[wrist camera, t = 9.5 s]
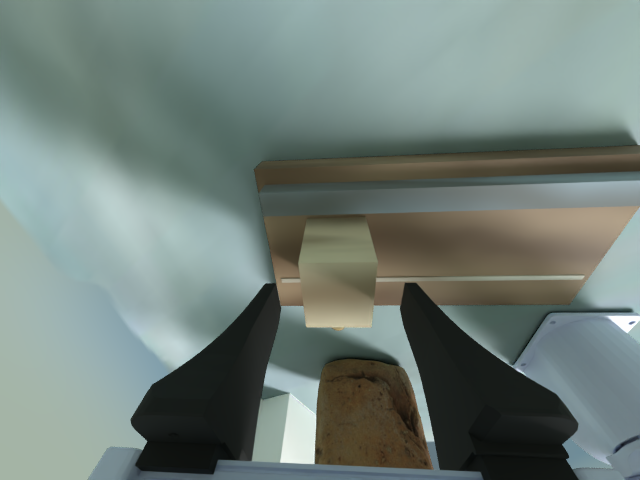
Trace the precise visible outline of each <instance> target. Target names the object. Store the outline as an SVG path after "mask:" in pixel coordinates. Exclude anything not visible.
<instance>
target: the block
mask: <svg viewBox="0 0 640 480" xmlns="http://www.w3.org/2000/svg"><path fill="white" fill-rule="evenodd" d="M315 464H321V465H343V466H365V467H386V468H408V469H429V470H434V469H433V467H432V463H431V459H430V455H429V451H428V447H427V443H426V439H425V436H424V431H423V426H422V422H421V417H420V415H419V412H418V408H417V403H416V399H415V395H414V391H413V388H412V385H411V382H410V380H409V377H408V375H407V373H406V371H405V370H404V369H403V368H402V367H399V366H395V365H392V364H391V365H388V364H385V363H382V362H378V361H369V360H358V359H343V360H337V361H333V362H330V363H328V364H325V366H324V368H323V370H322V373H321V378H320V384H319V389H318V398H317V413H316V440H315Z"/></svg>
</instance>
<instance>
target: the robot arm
mask: <svg viewBox="0 0 640 480" xmlns="http://www.w3.org/2000/svg"><path fill="white" fill-rule="evenodd" d="M400 311H401V316H402V321H403V325H404V329H405V332H406V335H407V337H408V340H409V343H410V346H411V349H412V352H413V355H414V358H415V361H416V364H417V367H418V370H419V373H420V377H421V381H422V385H423V389H424V394H425V398H426V402H427V407H428V411H429V416H430V421H431V426H432V431H433V435H434V440H435V446H436V451H437V457H438V461H439V468H440V470H429V469H408V468H386V467H365V466H343V465H321V464H300V463H278V462H257V461H252V456H253V449H254V441H255V434H256V427H257V420H258V414H259V407H260V401H261V395H262V389H263V384H264V378H265V373H266V369H267V364H268V361H269V357H270V354H271V350H272V347H273V343H274V340H275V336H276V332H277V329H278V325H279V319H280V312H281V306H280V301H279V296H278V291H277V285H276V283H266V284H265V285H264V286H263V287H262V288H261V290H260V291H259V292H258V294H257V295H256V296H255V297H254V299H253V300H252V301H251V302H250V304H249V305H248V306H247V307H246V308H245V310H244V311H243V312H242V313H241V314H240V315H239V316H238V317H237V319H236V320H235V321H234V322H233V323H232V324H231V325H230V326H229V327H228V328H227V329H226V330H225V331H224V332H223V333H222V334H221V335H220V336H219V337H217V338H216V339H215V340H214V341H213V342H212V343H211V344H209V345H208V346H207V347H206V348H205V349H203V350H202V351H201V352H200V353H198V354H197V355H196V356H194V357H193V358H192V359H190V360H189V361H188V362H186V363H185V364H183V365H182V366H181V367H179V368H178V369H176V370H175V371H173V372H172V373H170V374H168V375H167V376H165V377H164V378H162V379H161V380H159V381H157V382H156V383H154V384H153V385H152V386H151V387H150V389H149V390H148V392H147V393H146V395H145V396H144V398H143V400H142V402H141V403H140V405H139V406H138V408H137V410H136V411H135V413H134V415H133V416H132V418H131V424H132V426H133V427H134V429H135V430H136V431H137V432H138V433H139V434H141V436H143V437H144V438H145V439H146V440H147V444H146V445H145V447H144V449H143V450H141V449H137V448H127V447H109V448H107V450H106V451H105V453H104V455H103V456H102V458H101V459H100V461H99V462H98V464H97V466H96V467H95V469H94V470H93V472H92V473H91V475H90V476H89V478H88V480H640V343H638V342H637V341H636V340H635V339H634V338H632V337H631V336H630V335H629V334H627V333H628V332H629V331H630V330H631V329H632V328H633V327H634V326H635V325H636V324H637V323H638V321H639V320H640V315H639V314H638V313H550V314H549V315H547V317H546V318H545V320H544V321H543V323H542V324H541V326H540V327H539V329H538V330H537V332H536V333H535V335H534V336H533V338H532V339H531V341H530V342H529V344H528V345H527V347H526V348H525V350H524V351H523V353H522V354H521V356H520V357H519V359H518V360H517V362H516V363H515V365H514V366H513V368H512V367H511V366H509V365H508V364H506V363H505V362H503V361H502V360H500V359H499V358H497V357H496V356H495V355H493V354H492V353H490V352H489V351H488V350H486V349H485V348H484V347H482V346H481V345H480V344H478V343H477V342H476V341H475V340H473V339H472V338H471V337H470V336H469V335H467V334H466V333H465V332H464V331H463V330H462V329H460V328H459V327H458V326H457V325H456V324H455V323H454V322H453V321H452V320H451V319H450V318H449V317H448V316H447V315H446V314H445V313H444V312H443V311H442V310H441V309H440V308H439V307H438V306H437V305H436V304H435V303H434V302H433V301H432V300H431V299H430V297H429V296H428V295H427V294H426V293H425V292H424V291H423V290H422V288H421V287H420V286H419V285H418V284H417V283H405V284H404V289H403V295H402V301H401V306H400ZM520 372H524V373H525V375H526V376H527V377H526V376H525V375H523V374H522V373H520ZM569 438H571V439H572V440H573V441H574V442H575V443H576V444H577V445H578V446H579V447H581V448H582V449H583V450H584V451H586V452H587V453H588V454H590V455H591V456H593V457H594V458H596V459H598V460H600V461H602V462H604V463H606V464H609V465H611V466H612V467H613V468H614V469H603V468H577V469H573V470H572V468H571V467H570V465H569V464H568V462H567V460H566V459H568V458H569V455H568V453H567V452H566V450H565V448H564V447H563V446H562V444H563V443H564V442H565V441H566V440H568V439H569Z"/></svg>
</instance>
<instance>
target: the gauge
mask: <svg viewBox="0 0 640 480" xmlns="http://www.w3.org/2000/svg"><path fill="white" fill-rule="evenodd" d="M298 265H299V273H300V281H301V289H302V297H303V305H304V313H305V321H306V327H332V328H333V329H334V330H337V331H339V330H342V329H344V328H345V327H362V328H371V327H372V317H373V307H374V297H375V287H376V276H377V266H378V261H377V257H376V253H375V249H374V246H373V242H372V238H371V235H370V231H369V227H368V223H367V220H366V217H348V218H310V219H307V221H306V226H305V231H304V236H303V242H302V247H301V252H300V257H299V262H298Z"/></svg>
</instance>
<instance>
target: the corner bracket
mask: <svg viewBox="0 0 640 480" xmlns="http://www.w3.org/2000/svg"><path fill="white" fill-rule="evenodd" d="M315 431H316V414H314V413H313V412H312V411H311V410H310V409H308V408H307V407H306V406H305V405H304V404H302V403H301V402H300V401H299V400H298V399H296V398H295V397H294V396H293V395H292V394H290V393H288V394H284V395H280V396H276V397H272V398H268V399H265V400H263V399H262V398H261V401H260V407H259V414H258V420H257V427H256V434H255V441H254V449H253V456H252V461H257V462H278V463H300V464H314V452H315Z"/></svg>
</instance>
